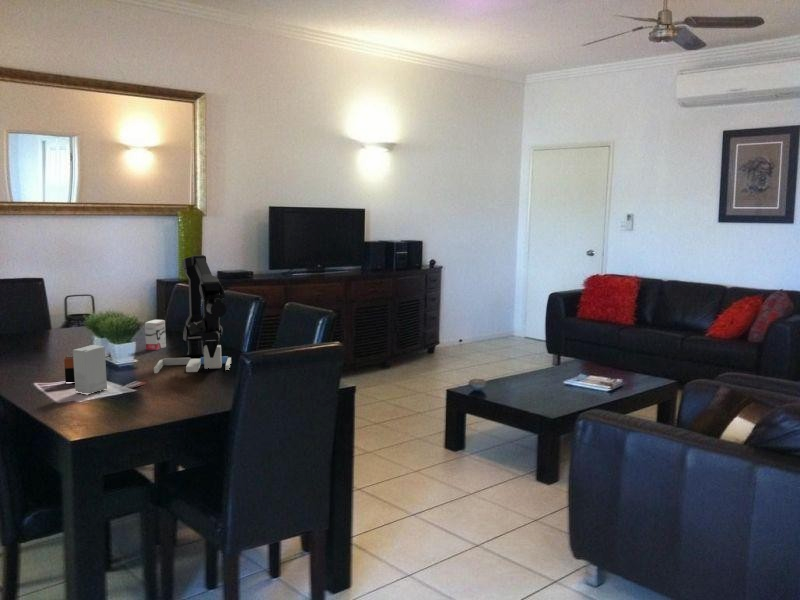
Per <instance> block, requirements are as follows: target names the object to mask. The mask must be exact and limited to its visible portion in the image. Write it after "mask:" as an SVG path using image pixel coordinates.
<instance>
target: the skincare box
mask: <svg viewBox="0 0 800 600" xmlns="http://www.w3.org/2000/svg"><path fill="white" fill-rule="evenodd" d="M72 356H73V361H74V377H75V384H74V389H75V391H78V392H82V393H92V392H96V391H100V390H103V391H105V390H104V389H106V390H108V382H107V381H108V380H107V366H106V365H107V364H106V348H105V346H103V345H98V344H90V345H87V346H83V347H80V348H79V347H78V348H75V349H72ZM75 391H74V392H75ZM100 392H101V391H100Z"/></svg>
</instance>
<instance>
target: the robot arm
mask: <svg viewBox="0 0 800 600" xmlns="http://www.w3.org/2000/svg"><path fill="white" fill-rule="evenodd" d="M181 265H182V269H183V272H184V275H185V276H186V277H187V279H188V298H189V299H188V302H189V303H188V305H189V306H188V307H189V316H188V317H187V319H186V320H185V326H184V328H183V332H182V333H183V334H182V337H183V338H182V339H183V340H184V341H185V342H187V349H188V350H187V354H186V356H187V357H192V356H193V357H194V356H195V357H197V356H204V346H203V345H204V344H205V346H206V345H207V348H208V351H209V355H210V358H213V357H214V354H215V351H216V348H217V345H219V343H220V340H221V337H222V335H223V326H222V325H221V324H220V323H221V321H220V319H221V318H222V317H224V315H225V314H226V312H227V306H226V305H225V303H224V302H222V300H225V297H226V294H225V290H224V287H223V285H222V283H221V282H220V281H219V279H218V277H216V276H215V275H213V273H212V272H211V269H210V267H209V265H208V263H207V257H206V255H204V254H194V255H192V256H189V257H185V258H184V259H182V264H181ZM202 301H203V302H202ZM202 307H203V309H202ZM202 310H203V313H202ZM202 314H203V316H202Z"/></svg>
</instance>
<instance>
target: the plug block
mask: <svg viewBox="0 0 800 600" xmlns="http://www.w3.org/2000/svg"><path fill="white" fill-rule="evenodd" d="M203 351H204V355H203V357H204V364H203V365H204V366H203V367H204V370H206V369H207V370H209V369H221V368H222V365H223V363H222V358H221V357H222V345H221V344H218V345H217V348H216V351H215V354H214V357H213V358H210V355H209V351H208V348H207V345H206V344H205V345H204V346H203ZM208 368H209V369H208Z"/></svg>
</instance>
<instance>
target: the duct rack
mask: <svg viewBox="0 0 800 600" xmlns="http://www.w3.org/2000/svg"><path fill="white" fill-rule="evenodd" d="M221 358H222V364H225V371H226V370H229V371H230V369H229V368H231V365H230V364H232V356H231V357H230V356H228V355H227V356H226V355H225V356H222V355H221ZM185 365H186V366H185ZM201 365H204V356H201V357H200V358H191V357H169V358H168V357H167V358H166V357H165V358H162V359H159V361H158V362H157V363H156V365H155V366H154V367H153V373H154V374H158V373H159V372H160V370H161V369H162V368H163V366H185V372H186V373H197V372H198V371H199V369H200V367H201Z"/></svg>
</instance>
